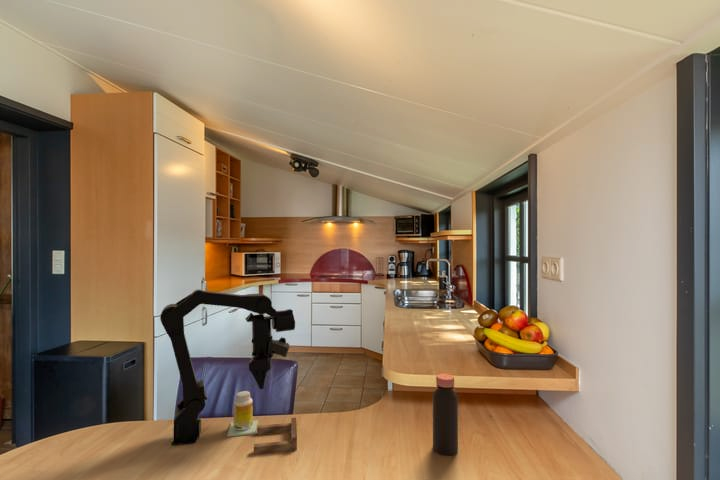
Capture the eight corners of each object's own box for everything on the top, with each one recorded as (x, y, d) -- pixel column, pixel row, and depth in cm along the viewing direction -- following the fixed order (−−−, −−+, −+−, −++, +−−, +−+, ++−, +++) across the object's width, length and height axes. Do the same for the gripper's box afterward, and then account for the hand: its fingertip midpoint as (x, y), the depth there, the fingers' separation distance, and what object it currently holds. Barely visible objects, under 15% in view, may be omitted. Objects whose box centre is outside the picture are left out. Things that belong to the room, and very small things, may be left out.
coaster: (227, 436, 109) (227, 434, 109) (231, 423, 117) (231, 422, 117) (255, 434, 110) (255, 432, 110) (257, 421, 118) (257, 419, 118)
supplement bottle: (255, 427, 113) (255, 393, 113) (237, 433, 110) (237, 398, 110) (248, 420, 117) (248, 388, 118) (230, 426, 114) (231, 392, 114)
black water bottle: (428, 445, 104) (428, 374, 105) (447, 440, 107) (447, 371, 107) (442, 458, 98) (442, 382, 98) (463, 452, 101) (462, 378, 101)
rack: (253, 454, 100) (253, 441, 100) (257, 432, 111) (257, 420, 111) (296, 450, 102) (296, 437, 102) (296, 428, 113) (296, 417, 114)
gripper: (287, 339, 109) (288, 392, 109) (287, 325, 128) (288, 371, 128) (248, 342, 107) (249, 396, 107) (254, 328, 126) (255, 373, 126)
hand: (262, 383), depth 117 cm, fingers open, 9 cm apart
